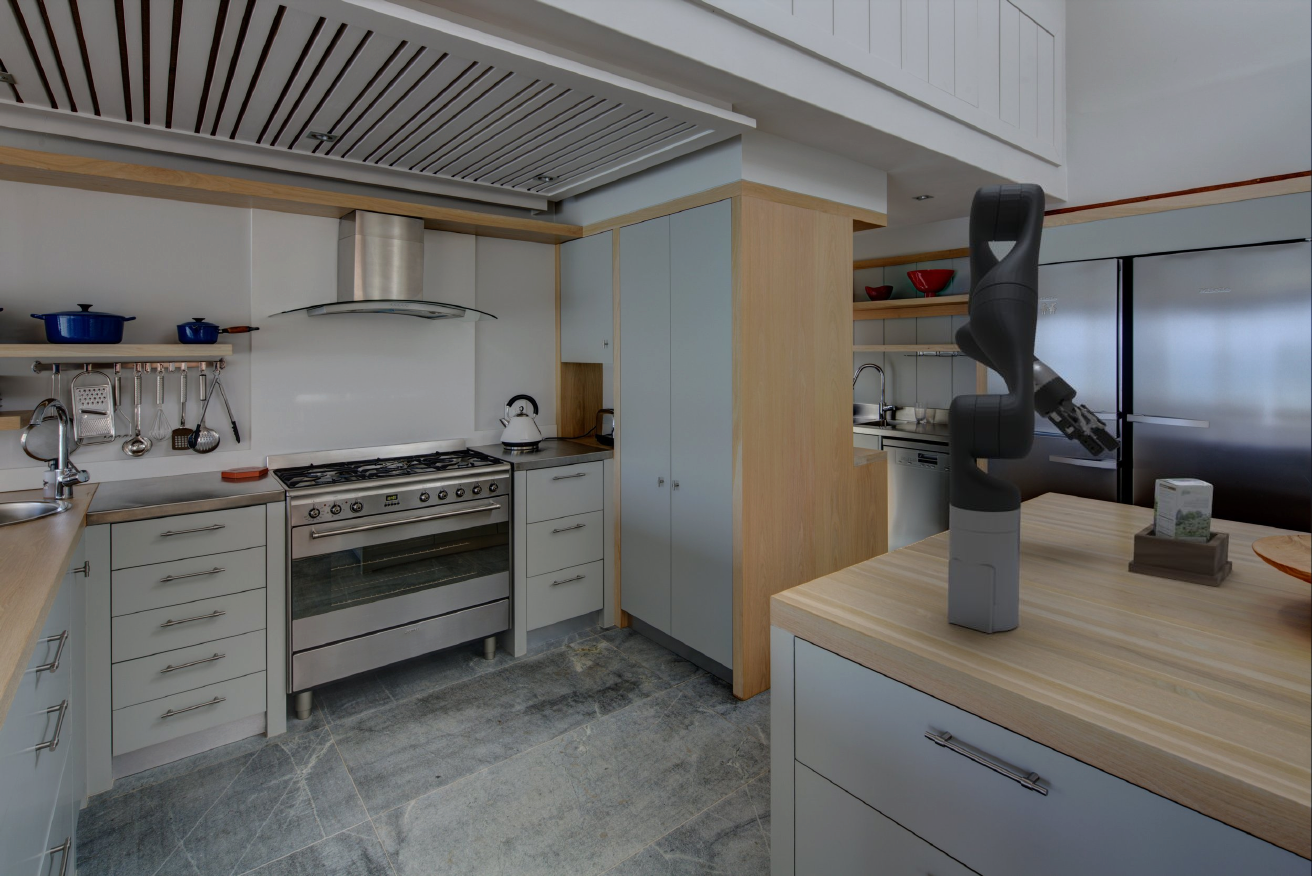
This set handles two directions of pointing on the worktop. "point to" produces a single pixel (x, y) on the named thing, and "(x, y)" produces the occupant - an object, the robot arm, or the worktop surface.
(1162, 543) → the holder
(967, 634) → the worktop surface
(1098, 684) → the worktop surface
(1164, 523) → the syrup box
